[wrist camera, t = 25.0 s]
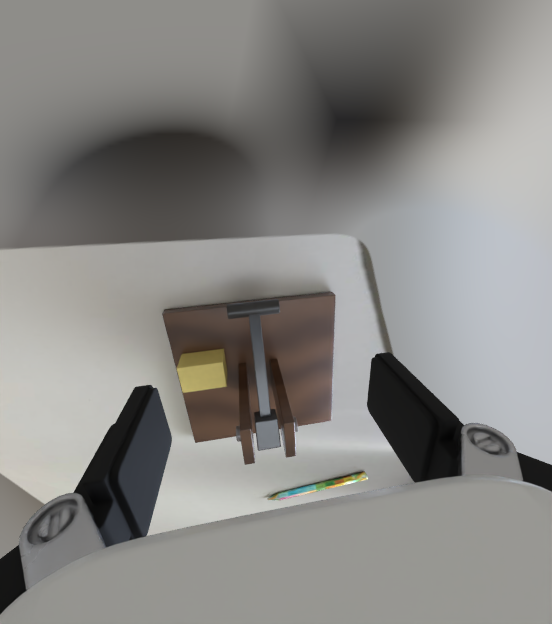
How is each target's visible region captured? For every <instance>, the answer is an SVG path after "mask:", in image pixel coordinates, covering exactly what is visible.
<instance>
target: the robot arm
mask: <svg viewBox="0 0 552 624" xmlns="http://www.w3.org/2000/svg"><path fill="white" fill-rule="evenodd" d="M367 407H368V410H369V412H370V414H371V416H372V417H373V419H374V420H375V422H376V423H377V425H378V426H379V428H380V430H381V431H382V433H383V434H384V436H385V437H386V439H387V440H388V442H389V444H390V445H391V447H392V448H393V450H394V451H395V453H396V455H397V456H398V458H399V459H400V461H401V462H402V464H403V465H404V467H405V469H406V470H407V472H408V473H409V475H410V476H411V478H412V479H413V481H414V482H415V483H410V484H405V485H399V486H394V487H389V488H383V489H378V490H373V491H368V492H362V493H357V494H352V495H347V496H341V497H336V498H331V499H326V500H321V501H316V502H311V503H306V504H301V505H295V506H290V507H285V508H280V509H275V510H270V511H265V512H260V513H255V514H250V515H245V516H240V517H235V518H230V519H225V520H221V521H216V522H211V523H206V524H201V525H196V526H191V527H186V528H182V529H177V530H173V531H168V532H164V533H159V534H155V535H150V536H146V535H147V533H148V530H149V526H150V522H151V518H152V515H153V511H154V507H155V503H156V500H157V496H158V492H159V488H160V485H161V481H162V477H163V473H164V470H165V466H166V462H167V458H168V454H169V451H170V447H171V442H172V437H171V433H170V429H169V426H168V423H167V419H166V416H165V413H164V409H163V406H162V403H161V399H160V396H159V393H158V390H157V388H153V387H152V386H151V385H146V386H139V387H135V388H134V390H133V392H132V394H131V395H130V397H129V399H128V401H127V403H126V405H125V406H124V408H123V410H122V412H121V414H120V416H119V417H118V419H117V421H116V423H115V424H113V425H112V426H111V427H110V428H109V430H108V432H107V434H106V435H105V437H104V439H103V441H102V443H101V444H100V446H99V448H98V450H97V452H96V453H95V455H94V457H93V459H92V460H91V462H90V464H89V466H88V468H87V469H86V471H85V473H84V475H83V477H82V478H81V480H80V482H79V484H78V486H77V487H76V489H75V491H74V493H68V494H64V495H62V496H59V497H57V498H55V499H53V500H51V501H50V502H48V503H47V504H45V505H44V506H43V507H41V508H40V509H39V510H38V511H37V512H36V513H35V514H34V515H33V516H32V517H31V518H30V519H29V521H28V522H27V523H26V525H25V526H24V528H23V530H22V532H21V535H20V539H19V545H18V546H17V547H16V548H14V549H13V550H11V551H10V552H9V553H8V554H6V555H5V556H4V557H2V558H1V559H0V624H552V465H550V464H547V463H545V462H542V461H539V460H537V459H534V458H531V457H529V456H526V455H523V454H521V453H518V452H516V448H515V446H514V444H513V443H512V442H511V441H510V439H509V438H508V437H506V436H505V435H504V434H503V433H501V432H500V431H498V430H496V429H494V428H492V427H489V426H487V425H483V424H479V423H469V424H466V425H463V424H462V423H461V422H460V421H459V419H458V418H457V417H456V416H455V415H454V414H453V413H452V412H451V411H450V410H449V409H448V408H447V407H446V406H445V405H444V404H443V403H442V402H441V401H440V400H439V399H438V398H437V397H435V396H434V394H433V393H431V392H430V391H429V390H428V389H427V388H426V387H425V386H424V385H423V384H422V383H421V382H420V381H419V380H418V379H417V378H416V377H415V376H414V375H413V374H412V373H411V372H410V371H409V370H408V369H407V368H406V367H405V366H404V365H403V364H401V363H400V362H399V361H398V360H397V359H396V358H395V357H394V356H393V355H392V354H391V353H389V352H387V353H380V354H376V355H375V357H374V358H372V361H371V371H370V381H369V391H368V401H367Z"/></svg>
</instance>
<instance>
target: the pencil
mask: <svg viewBox="0 0 552 624" xmlns="http://www.w3.org/2000/svg"><path fill="white" fill-rule="evenodd" d="M362 480H367V475H366V473H365V472H361V473H357V474H353V475H349V476H345V477H341V478H337V479H333V480H329V481H325V482H321V483H316V484H312V485H308V486H304V487H300V488H296V489H292V490H288V491H283V492H279V493H276V494H275V495H273V496H271V497H270V498H268V500H283V499H287V498H291V497H295V496H300V495H304V494H308V493H312V492H316V491H320V490H324V489H329V488H333V487H337V486H341V485H345V484H349V483H354V482H358V481H362Z"/></svg>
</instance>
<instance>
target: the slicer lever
mask: <svg viewBox="0 0 552 624" xmlns="http://www.w3.org/2000/svg"><path fill="white" fill-rule="evenodd" d="M279 313H280V304H279V300H278V299H272V300H262V301H253V302H244V303H235V304H227V315H228V319H235V318H244V317H249V324H250V333H251V342H252V351H253V359H254V368H255V377H256V386H257V395H258V403H259V411H258V412H254V418H255V429H256V437H257V446H258V451H260V450H265V449H271V448H277V447H281V444H280V434H279V425H278V418H277V414H276V411H275V409H270V400H269V391H268V382H267V373H266V364H265V355H264V346H263V337H262V328H261V319H260V316H261V315H270V314H279Z"/></svg>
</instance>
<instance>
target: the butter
mask: <svg viewBox="0 0 552 624" xmlns="http://www.w3.org/2000/svg"><path fill="white" fill-rule="evenodd" d="M177 372H178V376H179V380H180V384H181V388H182V392H183V393H186V392H193V391H200V390H207V389H214V388H221V387H227V366H226V360H225V353H224V349H218V350H210V351H202V352H194V353H186V354H182V355H181V358H180V360H179V363H178V366H177Z"/></svg>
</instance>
